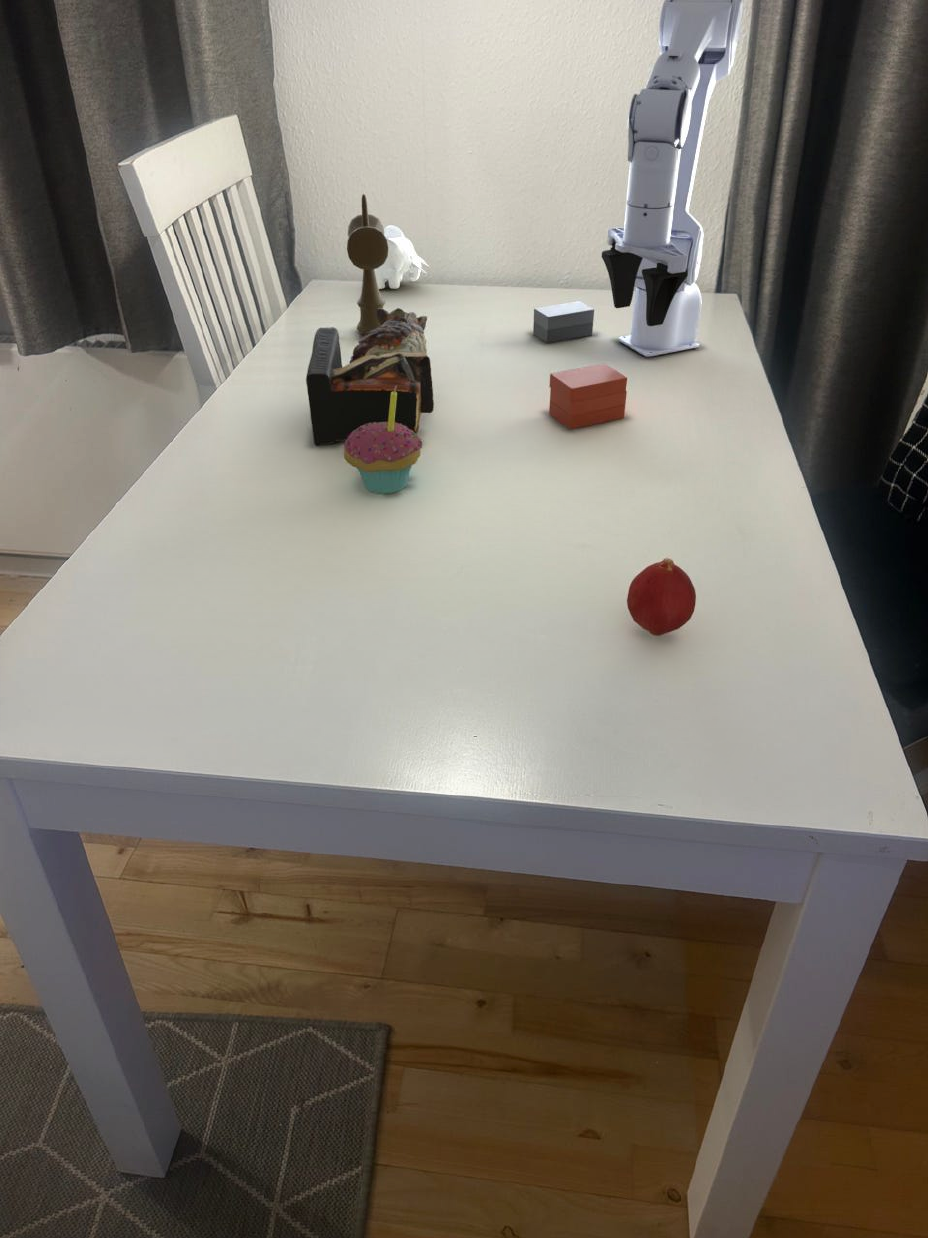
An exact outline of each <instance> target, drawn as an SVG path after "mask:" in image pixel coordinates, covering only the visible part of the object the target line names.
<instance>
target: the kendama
mask: <svg viewBox="0 0 928 1238" xmlns="http://www.w3.org/2000/svg"><path fill="white" fill-rule="evenodd" d="M368 208H369V207H368V201H367V196H366V194H364V193H362V195H361V214H357V215H355V216H354V217H353V218H351V220H350V222H349V224H348V226H347V237H348V239H347V241H346V251H347V257H348V259H349V260H350V262H351V263H352V265H353V266H355V267H356V268H358V269H360V270H362V282H361V283H362V284H361V293H360V296H359V297H358V299H357V301H356V304H357V306H358V307H359V313H360V315H359V316H360V318H359V322H358V323H357V325H356V330H357V332H358V333H359V334H362V335H364V336H366V333H368V332H370V331H372V330H374V329H376V328H379V327H381V324H380V323H379V321H378V319H377V316H376V311H377V309H379V308H381V309H384V307H385V304H386V301H385V299H384V297H383V296H382V295H381V292H380V289H378V284H377V280H376V275H375V270H374V269H377V268H379V267H380V266H382V265H383V264H384V263H385V261H386V259H387V257H388V248H389V247H388V243H387V239H386V237H385V236H384V229H385V227H384V225H383V223H382V222H381V220H380V218H378V217H377V216H375V215H373V214H369V209H368Z"/></svg>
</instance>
